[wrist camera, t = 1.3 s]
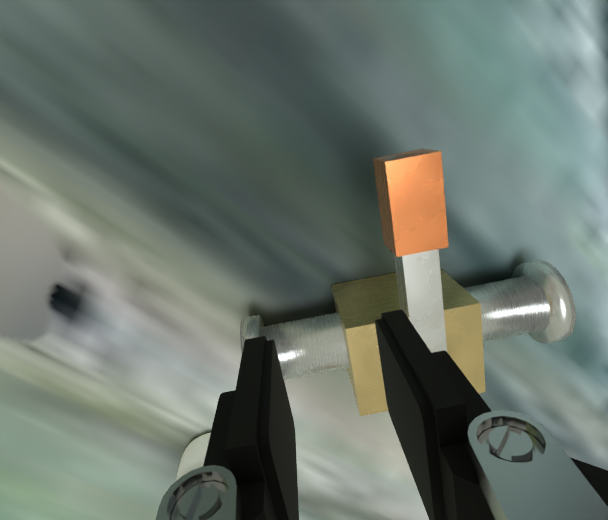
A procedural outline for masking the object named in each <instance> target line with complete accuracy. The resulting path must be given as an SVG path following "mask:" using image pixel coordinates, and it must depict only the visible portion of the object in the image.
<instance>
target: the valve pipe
mask: <svg viewBox="0 0 608 520" xmlns="http://www.w3.org/2000/svg"><path fill="white" fill-rule="evenodd" d="M440 273H441V285H442V297H443V308H444V320H445V332H446V344H447V353H448V354H449V355H450V356H451V358H452V359H453V360H454V362H455V363H456V364H457V366H458V367H459V368H460V370H461V371H462V372H463V374H464V375H465V376H466V378H467V379H468V380H469V382H470V383H471V384H472V386H473V387H474V388H475V390H476V391H477V392H478V393H483V392H485V375H484V356H483V342H485V341H490V340H495V339H500V338H506V337H511V336H516V335H521V334H526V333H528V334H529V335H530V336H531V337H532V338H533V339H535V340H536V341H538V342H540V343H551V342H557V341H562V340H565V339H567V338H568V337H569V336H570V335H571V334H572V332H573V329H574V326H575V319H576V316H575V306H574V301H573V297H572V294H571V292H570V289H569V287H568V285H567V283H566V281H565V279H564V278H563V277H562V275H561V274H560V273H559V271H558V270H557V269H556V268H555V267H553V266H552V265H551V264H549V263H547V262H545V261H533V262H528V263H523V264H520V265H518V266H517V267H516V268H515V270H514V271H513V274H512V278H511V279H507V280H502V281H496V282H491V283H486V284H481V285H476V286H471V287H465V288H463V287H462V286H460V285H459V284H458V283H457V282H456V281H455V280H453V279H452V278H451V277H450V276H449V275H448V274H446V273H445V272H444V271H443V270H442V269H441V268H440ZM331 287H332V292H333V298H334V303H335V309H336V313H331V314H326V315H321V316H315V317H310V318H305V319H300V320H295V321H290V322H284V323H279V324H274V325H269V326H264V323H263V321H262V318H261V317H260V315H254V316H249V317H244V318H243V319H242V321H241V331H240V334H241V349H242V352H243V347H244V341H245V339H250V338H256V337H261V336H266V339H267V341H268V340H273V339H274V342H275V345H276V349H277V354H278V358H279V362H280V366H281V370H282V375H283V379H284V380H287V379H292V378H297V377H303V376H308V375H313V374H318V373H323V372H329V371H334V370H339V369H344V368H347V369H348V373H349V376H350V380H351V384H352V387H353V391H354V395H355V398H356V402H357V406H358V409H359V413H360V416H363V415H368V414H373V413H379V412H384V411H388V407H387V402H386V395H385V388H384V381H383V375H382V368H381V361H380V354H379V347H378V340H377V333H376V327H375V320H377V319H381V314H382V313H385V312H390V311H395V310H400V303H399V295H398V287H397V279H396V272H394V273H389V274H384V275H379V276H374V277H368V278H363V279H358V280H353V281H348V282H343V283H338V284H332V285H331Z"/></svg>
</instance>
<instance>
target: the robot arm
mask: <svg viewBox="0 0 608 520" xmlns="http://www.w3.org/2000/svg"><path fill="white" fill-rule="evenodd" d="M375 327H376V333H377V340H378V347H379V354H380V361H381V368H382V375H383V381H384V388H385V395H386V402H387V407H388V411H389V414H390V417H391V420H392V422H393V425H394V427H395V430H396V433H397V435H398V438H399V441H400V443H401V446H402V449H403V451H404V454H405V456H406V459H407V462H408V464H409V467H410V470H411V472H412V475H413V478H414V480H415V483H416V485H417V488H418V491H419V493H420V496H421V499H422V501H423V504H424V507H425V509H426V512H427V514H428V517H429V520H608V471H607V470H604V469H601V468H598V467H596V466H593V465H590V464H587V463H584V462H581V461H579V460H576V459H573V458H570V457H569V456H568V454H567V453H566V452H565V451H564V449H563V448H562V447H561V445H560V444H559V443H558V441H557V440H556V439H555V438H554V436H553V435H552V434H551V432H550V431H549V430H548V429H547V428H545V427H544V426H543V425H542V424H541V423H539V422H538V421H536V420H534V419H533V418H531V417H528V416H526V415H523V414H520V413H516V412H510V411H491V410H490V408H489V407H488V406H487V404H486V403H485V402H484V400H483V399H482V398H481V396H480V395H479V394H478V392H477V391H476V390H475V388H474V387H473V386H472V384H471V383H470V382H469V380H468V379H467V378H466V376H465V375H464V374H463V372H462V371H461V370H460V368H459V367H458V366H457V364H456V363H455V362H454V360H453V359H452V358H451V356H450V355H449V354H448V353H447V352H446V351H444V350H443V351H438V352H432V353H431V351H430V350H429V348H428V347H427V345H426V344H425V342H424V341H423V339H422V338H421V336H420V335H419V333H418V332H417V330H416V329H415V328H414V326H413V325H412V323H411V322H410V320H409V319H408V317H407V316H406V314H405V313H404V311H403V310H402V309H401V310H395V311H390V312H385V313H382V314H381V319H377V320H375ZM156 520H299V511H298V487H297V464H296V441H295V427H294V421H293V417H292V413H291V408H290V404H289V400H288V396H287V392H286V387H285V383H284V379H283V375H282V370H281V366H280V362H279V358H278V354H277V349H276V345H275V342H274V339H273V340H268V341H267V339H266V336H261V337H256V338H250V339H245V341H244V347H243V352H242V358H241V363H240V369H239V375H238V380H237V386H236V390H235V391H229V392H224V393H222V394H221V395H220V397H219V401H218V405H217V409H216V414H215V418H214V422H213V426H212V430H211V435H210V439H209V443H208V447H207V452H206V456H205V460H204V464H203V467H200V468H197V469H194V470H192V471H190V472H188V473H187V474H185V475H183V476H182V477H180V478H179V479H178V480H177V481H176V482H175V483H174V484H172V485H171V486H170V488H169V489H168V491H167V492H166V493H165V495H164V496H163V498H162V501H161V503H160V506H159V509H158V513H157V517H156Z"/></svg>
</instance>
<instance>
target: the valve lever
mask: <svg viewBox="0 0 608 520" xmlns="http://www.w3.org/2000/svg"><path fill="white" fill-rule="evenodd" d="M373 163H374V171H375V179H376V186H377V194H378V202H379V209H380V217H381V225H382V233H383V240H384V244H385V245H386V246H387V247H388V248H389V249H390V250H391V252H392V253H393V254H394V263H395V271H396V279H397V287H398V295H399V303H400V310H401V309H402V310H403V311H404V313H405V314H406V316H407V317H408V319H409V320H410V322H411V323H412V325H413V326H414V328H415V329H416V330H417V332H418V333H419V335H420V336H421V338H422V339H423V341H424V342H425V344H426V345H427V347H428V348H429V350H430V351H431V353H432V352H438V351H443V350H444V351H446V352H447V344H446V332H445V320H444V308H443V297H442V285H441V273H440V261H439V249H441V248H446V247H448V235H447V222H446V209H445V195H444V182H443V169H442V156H441V151H436V150H427V149H419V150H414V151H409V152H404V153H398V154H393V155H388V156H383V157H378V158H373Z"/></svg>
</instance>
